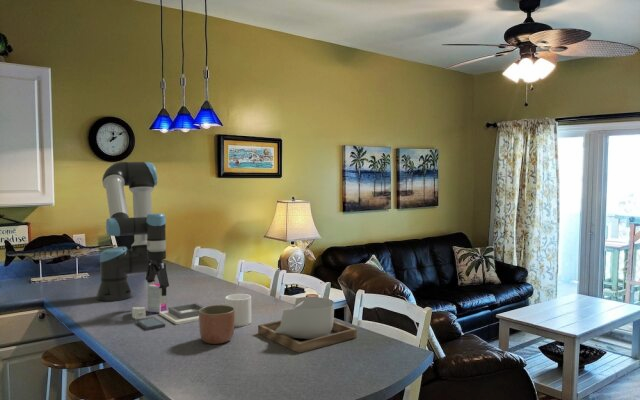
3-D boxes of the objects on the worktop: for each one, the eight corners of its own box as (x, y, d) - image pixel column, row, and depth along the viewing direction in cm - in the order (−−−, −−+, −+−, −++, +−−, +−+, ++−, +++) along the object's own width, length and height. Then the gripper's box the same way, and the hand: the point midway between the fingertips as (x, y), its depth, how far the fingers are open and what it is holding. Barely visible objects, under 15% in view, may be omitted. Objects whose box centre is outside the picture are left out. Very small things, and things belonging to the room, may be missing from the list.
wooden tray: (258, 333, 181) (258, 325, 181) (313, 321, 197) (313, 313, 197) (299, 352, 162) (299, 343, 161) (356, 337, 177) (356, 329, 177)
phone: (136, 323, 193) (136, 320, 193) (154, 320, 197) (154, 317, 197) (146, 330, 184) (146, 327, 184) (165, 326, 189) (165, 324, 189)
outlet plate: (159, 314, 206) (159, 307, 205) (199, 307, 217) (199, 300, 217) (176, 324, 191) (176, 317, 191) (218, 316, 203) (218, 309, 203)
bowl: (328, 345, 168) (329, 310, 168) (273, 340, 171) (274, 306, 171) (336, 329, 187) (337, 297, 187) (287, 325, 191) (288, 294, 191)
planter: (217, 348, 165) (217, 316, 165) (191, 342, 172) (190, 310, 171) (242, 338, 176) (242, 308, 175) (216, 332, 182) (216, 303, 182)
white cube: (132, 317, 202) (132, 307, 201) (142, 315, 204) (142, 305, 204) (136, 319, 198) (135, 309, 198) (146, 318, 201) (145, 308, 200)
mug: (256, 323, 194) (256, 297, 194) (234, 328, 187) (234, 301, 187) (238, 316, 203) (238, 291, 203) (217, 321, 197) (216, 295, 196)
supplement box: (160, 313, 207) (159, 286, 206) (147, 312, 208) (146, 285, 207) (167, 310, 212) (166, 283, 212) (154, 309, 213) (154, 282, 213)
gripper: (137, 248, 216) (138, 296, 217) (158, 254, 197) (159, 307, 197) (154, 246, 221) (155, 293, 222) (176, 252, 201) (177, 304, 202)
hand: (157, 300), depth 210 cm, fingers open, 13 cm apart
